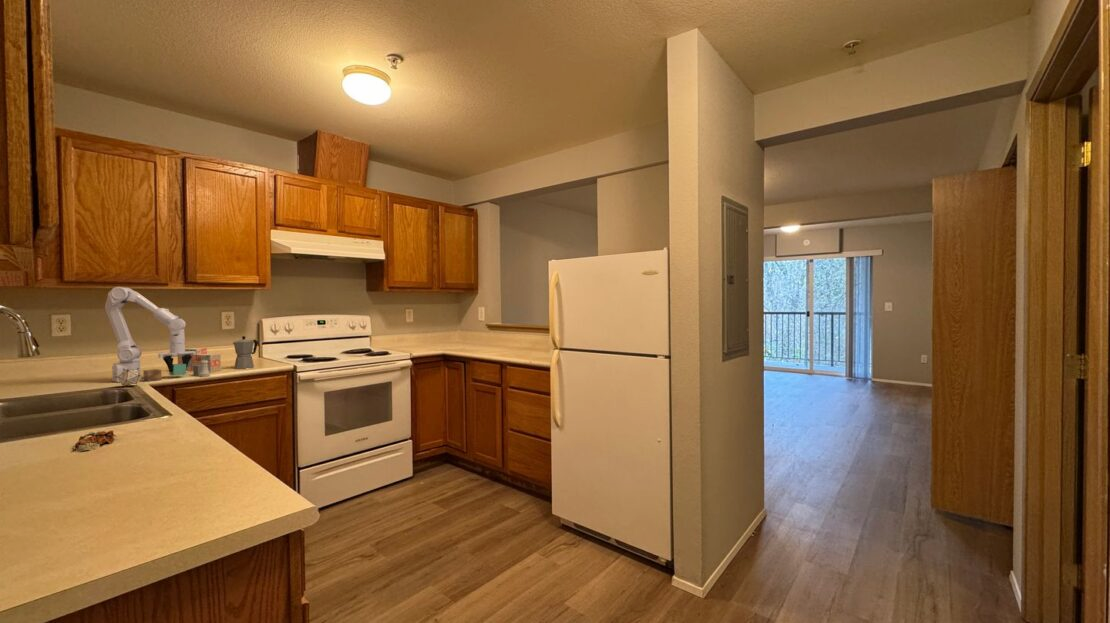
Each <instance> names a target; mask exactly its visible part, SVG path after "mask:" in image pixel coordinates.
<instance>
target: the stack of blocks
mask: <svg viewBox="0 0 1110 623" xmlns="http://www.w3.org/2000/svg"><path fill="white" fill-rule="evenodd" d="M186 351H196V355H191V356H192V358H191V359H190V361H189V363H188V366H187V369H186V371H193V366H194V365H202V364H201V363H200V362H201V361H202V360H203V361H204V360H205V361H206V360H208V364H207V365H209V367H210V373H213V372H212V371H215V372H219V371H218V370H220V371H221V365H222V364H221V357H222V356H221V353H207V352H208V351H207V348H206V347H201V348H200V347H196V348H195V347H193V348H192V347H189V348H188V347H187V348H186V347H185V352H186ZM178 355H183V354H178ZM184 355H185V354H184ZM181 363H182V364H183V362H182V356H177V364H181Z"/></svg>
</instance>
